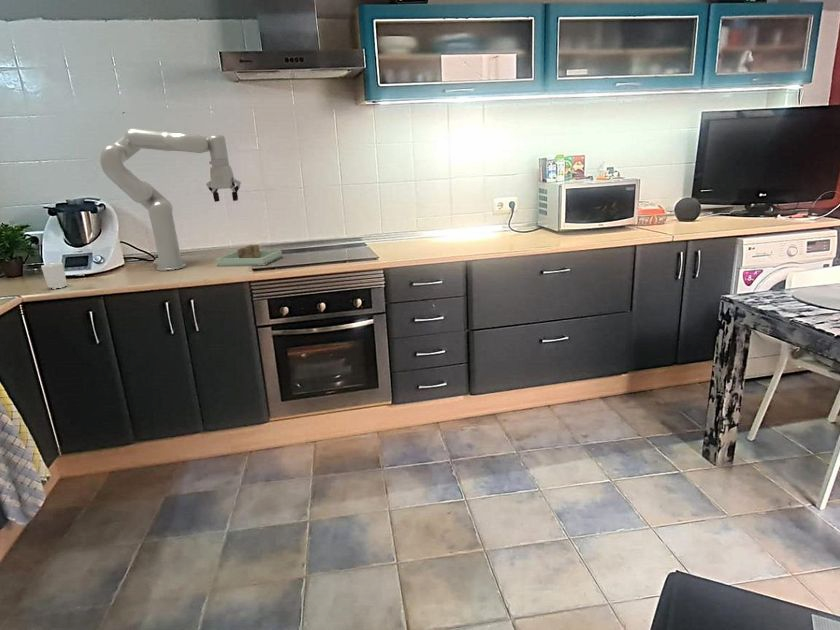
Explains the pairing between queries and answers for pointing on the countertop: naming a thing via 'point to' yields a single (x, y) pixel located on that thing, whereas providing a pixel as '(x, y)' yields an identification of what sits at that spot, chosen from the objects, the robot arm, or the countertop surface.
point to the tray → (248, 259)
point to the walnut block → (245, 253)
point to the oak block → (254, 250)
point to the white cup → (54, 274)
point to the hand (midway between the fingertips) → (226, 201)
